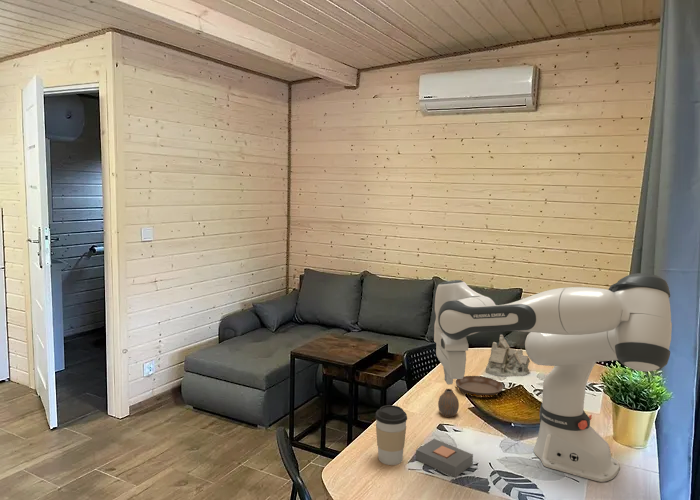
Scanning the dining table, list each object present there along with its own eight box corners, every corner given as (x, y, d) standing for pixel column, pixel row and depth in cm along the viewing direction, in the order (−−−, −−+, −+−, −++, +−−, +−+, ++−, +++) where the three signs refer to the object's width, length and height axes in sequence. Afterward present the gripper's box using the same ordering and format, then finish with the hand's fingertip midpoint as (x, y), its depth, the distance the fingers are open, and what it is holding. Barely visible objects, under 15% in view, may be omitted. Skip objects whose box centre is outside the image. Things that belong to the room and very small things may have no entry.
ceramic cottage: (479, 371, 217) (484, 336, 215) (500, 363, 228) (504, 330, 226) (513, 383, 206) (518, 347, 204) (533, 375, 217) (537, 341, 215)
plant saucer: (476, 379, 209) (477, 372, 209) (512, 393, 194) (513, 386, 194) (445, 388, 199) (445, 381, 199) (480, 404, 185) (481, 396, 184)
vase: (458, 419, 172) (459, 394, 171) (437, 417, 173) (438, 393, 172) (458, 411, 179) (459, 387, 178) (438, 409, 180) (439, 385, 179)
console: (472, 464, 144) (473, 454, 144) (455, 477, 138) (455, 467, 138) (433, 448, 153) (434, 438, 153) (415, 459, 147) (416, 449, 146)
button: (454, 461, 146) (455, 451, 145) (446, 467, 142) (446, 456, 142) (441, 456, 149) (442, 445, 148) (433, 461, 145) (433, 451, 145)
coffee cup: (386, 447, 154) (387, 399, 152) (412, 457, 148) (413, 407, 146) (368, 459, 147) (368, 409, 145) (394, 470, 141) (395, 418, 139)
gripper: (431, 326, 157) (430, 370, 158) (446, 347, 137) (445, 396, 138) (452, 326, 157) (450, 369, 159) (470, 346, 137) (468, 396, 138)
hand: (448, 382), depth 148 cm, fingers closed
